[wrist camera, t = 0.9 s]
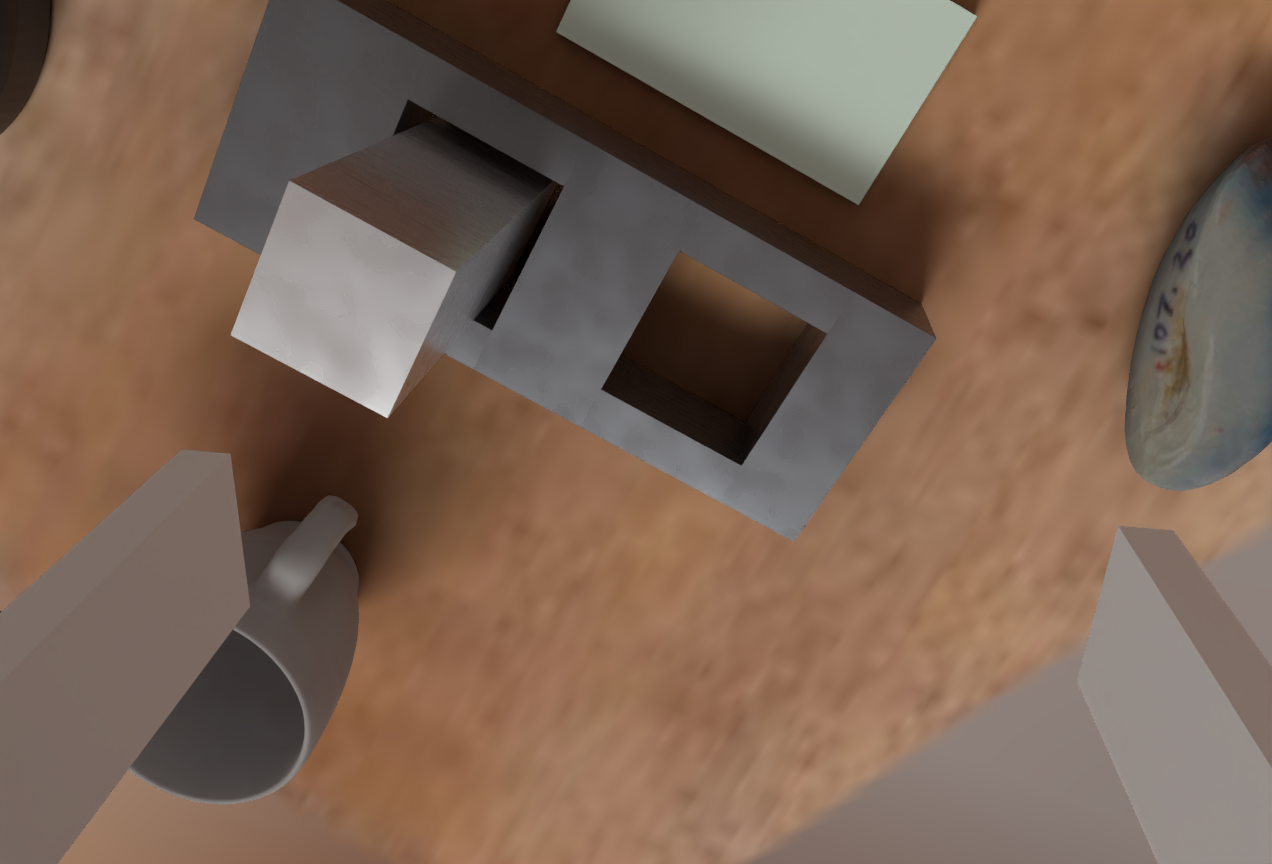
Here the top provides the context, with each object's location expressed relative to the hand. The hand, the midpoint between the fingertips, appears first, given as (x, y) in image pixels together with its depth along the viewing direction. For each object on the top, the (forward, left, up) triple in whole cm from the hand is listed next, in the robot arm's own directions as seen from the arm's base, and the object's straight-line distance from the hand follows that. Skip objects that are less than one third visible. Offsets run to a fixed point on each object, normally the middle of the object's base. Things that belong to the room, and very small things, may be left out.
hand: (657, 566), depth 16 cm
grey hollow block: (-4, -4, -25) cm, 26 cm away
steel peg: (-8, -4, -25) cm, 27 cm away
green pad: (-2, +6, -25) cm, 26 cm away
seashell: (+16, +6, -25) cm, 30 cm away
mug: (-8, -21, -25) cm, 34 cm away
